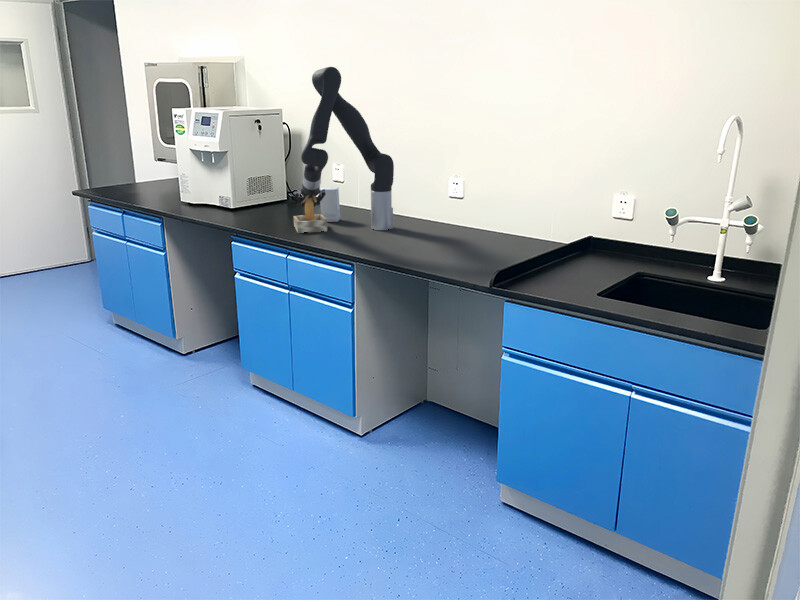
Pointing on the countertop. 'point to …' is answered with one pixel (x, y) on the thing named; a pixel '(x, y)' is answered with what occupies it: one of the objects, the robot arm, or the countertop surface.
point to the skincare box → (330, 204)
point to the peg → (309, 208)
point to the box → (310, 224)
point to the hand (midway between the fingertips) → (308, 205)
